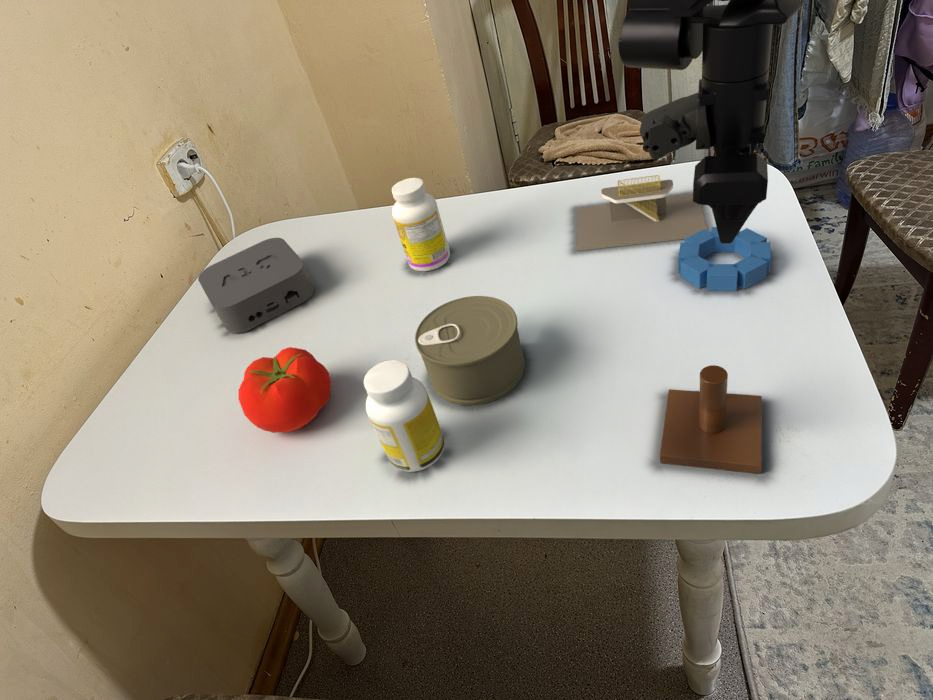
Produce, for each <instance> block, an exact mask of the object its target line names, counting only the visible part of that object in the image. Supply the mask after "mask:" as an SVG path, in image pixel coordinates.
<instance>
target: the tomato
mask: <svg viewBox="0 0 933 700" xmlns="http://www.w3.org/2000/svg"><path fill="white" fill-rule="evenodd" d="M331 391H332V378H331V375H330V372H329V371H328V369H327V368H326V367H325V365H324V364H322V363H321V362H320V361H318V360H317V359H316V358H315V356H314V355H313V354H312V353H311V352H309V351H308V350H306V349H302V348H298V347H291V346H289V347H285V348H282V349H281V350H280V351H278V353H277V354H276V355H275V356H273V357H269V356H268V357H267V356H262V357H259V358H258V359H254V360H253V361H252V362H251V363H250V364H248V365H247V367H246V368H245V371H244V373H243V380H242V381H241V384H240V386H239V387H238V402H239V404H240V407H241V409H242V412H243V415H244V416H245V418H246V419H247V420H248V421H249V422H250V423H251V424H253V425H254V426H256V428H258V429H260V430H262V431H264V432H265V431H266V432H270V433H275V434H276V433H289V432H292V431H293V432H294V431H296V430H299V429H301V428H302V427H304V426H306V425H307V424H308V423H310V422H311V421H312V420H313V419H314V418H315V417H316V416H317V415H318V413H319V412H320V410H321V409H323V408H324V407H325V406H326V405H327V404H328V402H329V399H330V397H331Z"/></svg>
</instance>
